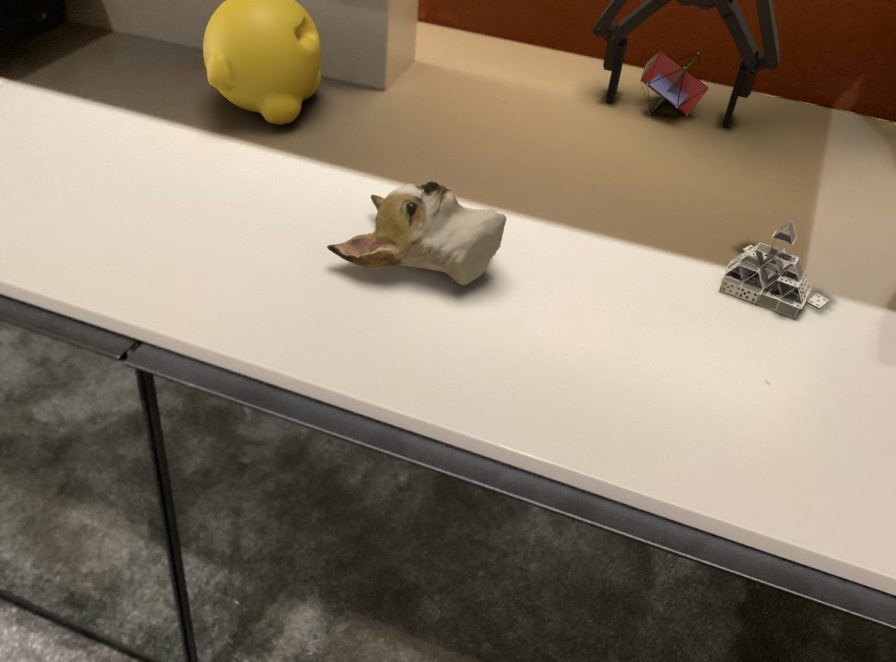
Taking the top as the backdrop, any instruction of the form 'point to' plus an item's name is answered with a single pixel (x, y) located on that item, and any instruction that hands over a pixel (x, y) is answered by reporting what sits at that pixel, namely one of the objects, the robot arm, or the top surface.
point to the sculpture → (263, 56)
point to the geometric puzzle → (673, 83)
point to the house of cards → (771, 277)
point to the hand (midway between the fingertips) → (667, 108)
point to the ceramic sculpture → (427, 234)
